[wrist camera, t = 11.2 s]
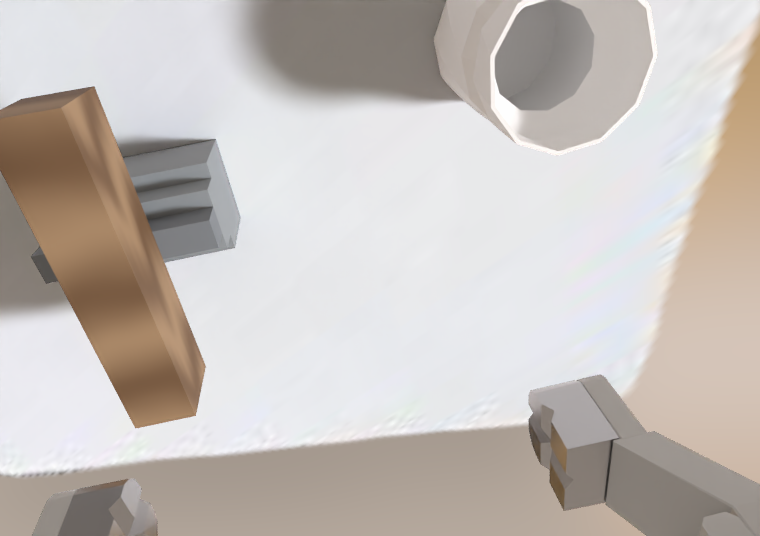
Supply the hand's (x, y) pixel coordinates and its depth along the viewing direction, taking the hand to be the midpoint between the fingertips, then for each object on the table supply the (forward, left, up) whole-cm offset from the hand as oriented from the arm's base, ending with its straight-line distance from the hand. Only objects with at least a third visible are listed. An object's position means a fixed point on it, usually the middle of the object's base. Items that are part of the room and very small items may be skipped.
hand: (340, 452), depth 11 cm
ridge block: (+4, -11, -30) cm, 33 cm away
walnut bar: (+4, -11, -21) cm, 25 cm away
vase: (-2, +14, -31) cm, 34 cm away
